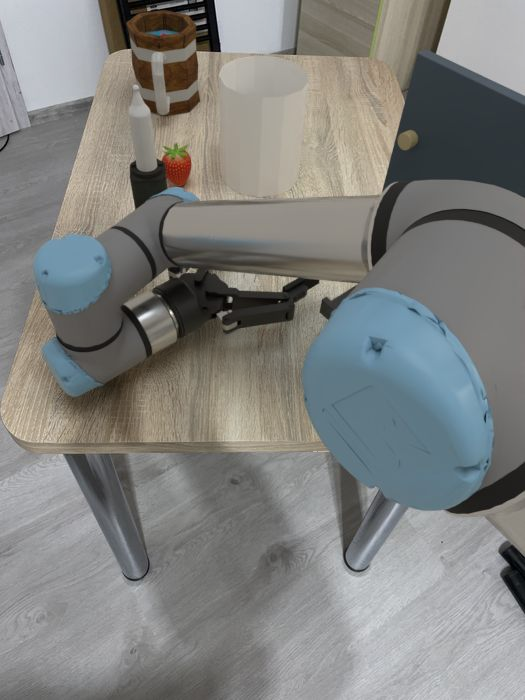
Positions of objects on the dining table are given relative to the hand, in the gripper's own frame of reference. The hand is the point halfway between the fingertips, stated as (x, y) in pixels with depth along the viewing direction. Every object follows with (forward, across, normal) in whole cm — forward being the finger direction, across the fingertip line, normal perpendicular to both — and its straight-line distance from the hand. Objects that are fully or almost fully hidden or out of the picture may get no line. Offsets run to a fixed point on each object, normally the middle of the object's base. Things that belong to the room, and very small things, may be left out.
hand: (286, 249), depth 79 cm
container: (+15, -24, -6) cm, 28 cm away
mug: (+14, -54, -6) cm, 56 cm away
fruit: (+1, -30, -6) cm, 30 cm away
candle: (-10, -20, -6) cm, 23 cm away
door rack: (0, +19, -6) cm, 20 cm away
